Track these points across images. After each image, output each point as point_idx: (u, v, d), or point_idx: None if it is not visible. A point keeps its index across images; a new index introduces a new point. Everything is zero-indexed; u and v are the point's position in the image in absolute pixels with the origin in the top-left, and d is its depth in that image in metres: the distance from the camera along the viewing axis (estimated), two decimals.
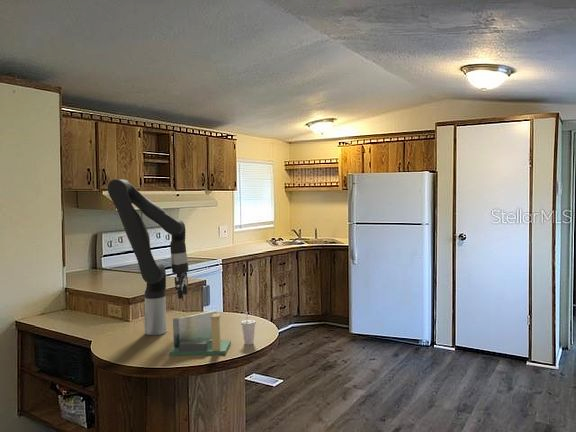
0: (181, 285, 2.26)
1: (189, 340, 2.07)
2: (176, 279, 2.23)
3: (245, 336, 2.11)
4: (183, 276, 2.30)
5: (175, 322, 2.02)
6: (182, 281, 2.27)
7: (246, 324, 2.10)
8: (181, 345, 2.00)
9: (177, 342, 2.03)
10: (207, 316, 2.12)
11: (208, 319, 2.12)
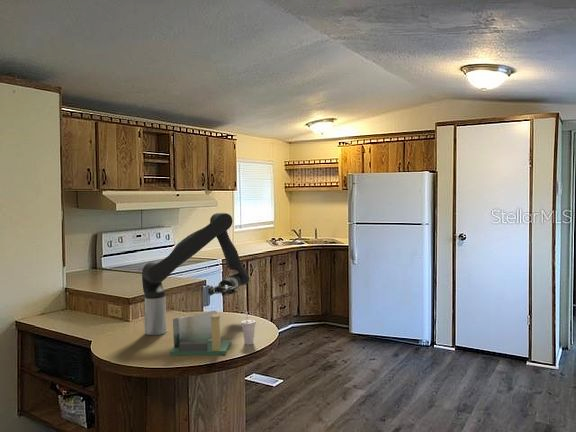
0: None
1: (189, 340, 2.07)
2: (236, 288, 2.29)
3: (245, 336, 2.11)
4: None
5: (175, 322, 2.02)
6: None
7: (246, 324, 2.10)
8: (181, 345, 2.00)
9: (177, 342, 2.03)
10: (207, 316, 2.12)
11: (208, 319, 2.12)
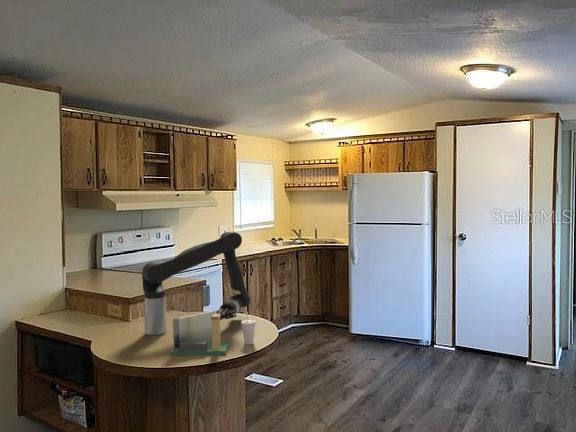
0: None
1: (189, 340, 2.07)
2: (235, 313, 2.27)
3: (245, 336, 2.11)
4: None
5: (175, 322, 2.02)
6: None
7: (246, 324, 2.10)
8: (181, 345, 2.00)
9: (177, 342, 2.03)
10: (207, 316, 2.12)
11: (208, 319, 2.12)
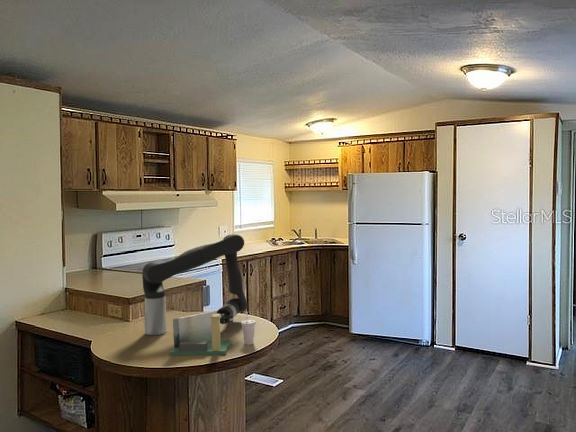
0: None
1: (189, 340, 2.07)
2: (231, 318, 2.22)
3: (245, 336, 2.11)
4: None
5: (175, 322, 2.02)
6: None
7: (246, 324, 2.10)
8: (181, 345, 2.00)
9: (177, 342, 2.03)
10: (207, 316, 2.12)
11: (208, 319, 2.12)
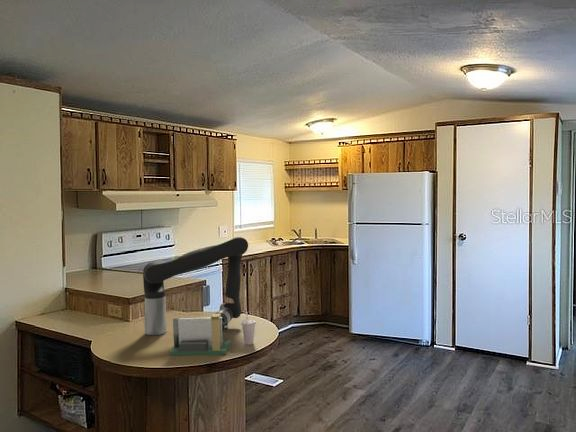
0: None
1: None
2: (226, 325, 2.12)
3: (245, 336, 2.11)
4: None
5: (173, 322, 2.03)
6: None
7: (246, 324, 2.10)
8: (181, 345, 2.00)
9: (175, 342, 2.03)
10: (210, 322, 2.03)
11: (211, 325, 2.03)
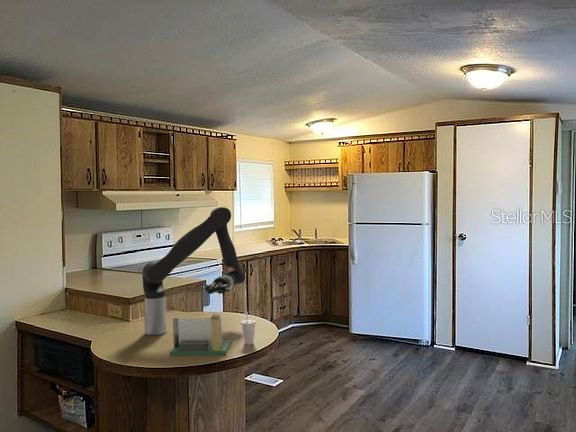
0: None
1: None
2: (228, 287, 2.19)
3: (245, 336, 2.11)
4: None
5: (173, 322, 2.03)
6: None
7: (246, 324, 2.10)
8: (181, 345, 2.00)
9: (175, 342, 2.03)
10: (210, 322, 2.02)
11: (211, 325, 2.02)
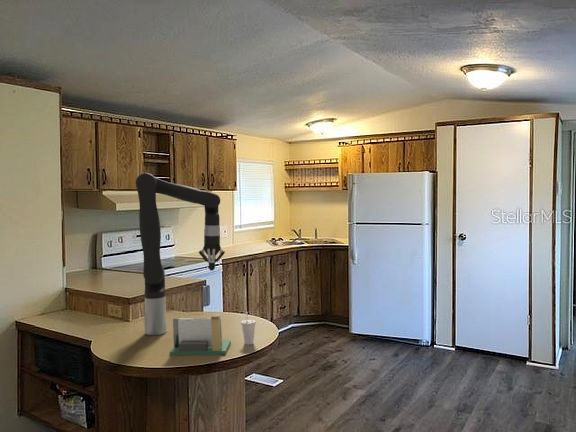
0: (215, 257, 2.38)
1: None
2: (223, 253, 2.36)
3: (245, 336, 2.11)
4: None
5: (173, 322, 2.03)
6: None
7: (246, 324, 2.10)
8: (181, 345, 2.00)
9: (175, 342, 2.03)
10: (210, 322, 2.02)
11: (211, 325, 2.02)
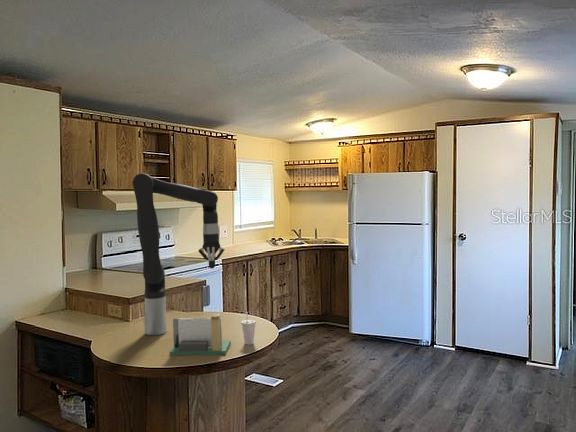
0: None
1: None
2: (223, 251, 2.36)
3: (245, 336, 2.11)
4: None
5: (173, 322, 2.03)
6: None
7: (246, 324, 2.10)
8: (181, 345, 2.00)
9: (175, 342, 2.03)
10: (210, 322, 2.02)
11: (211, 325, 2.02)
